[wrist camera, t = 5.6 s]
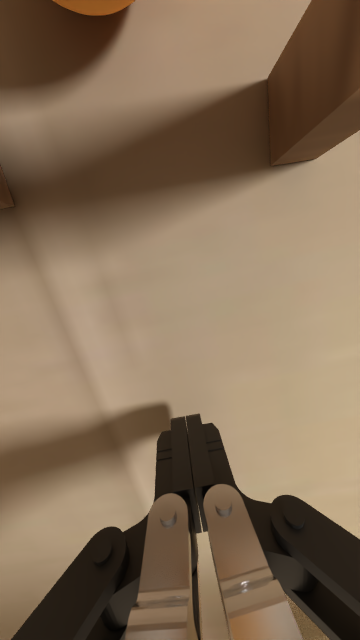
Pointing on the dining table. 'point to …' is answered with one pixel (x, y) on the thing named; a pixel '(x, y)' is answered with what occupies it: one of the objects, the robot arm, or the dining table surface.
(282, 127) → the bridge
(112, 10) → the ball
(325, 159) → the dining table surface
